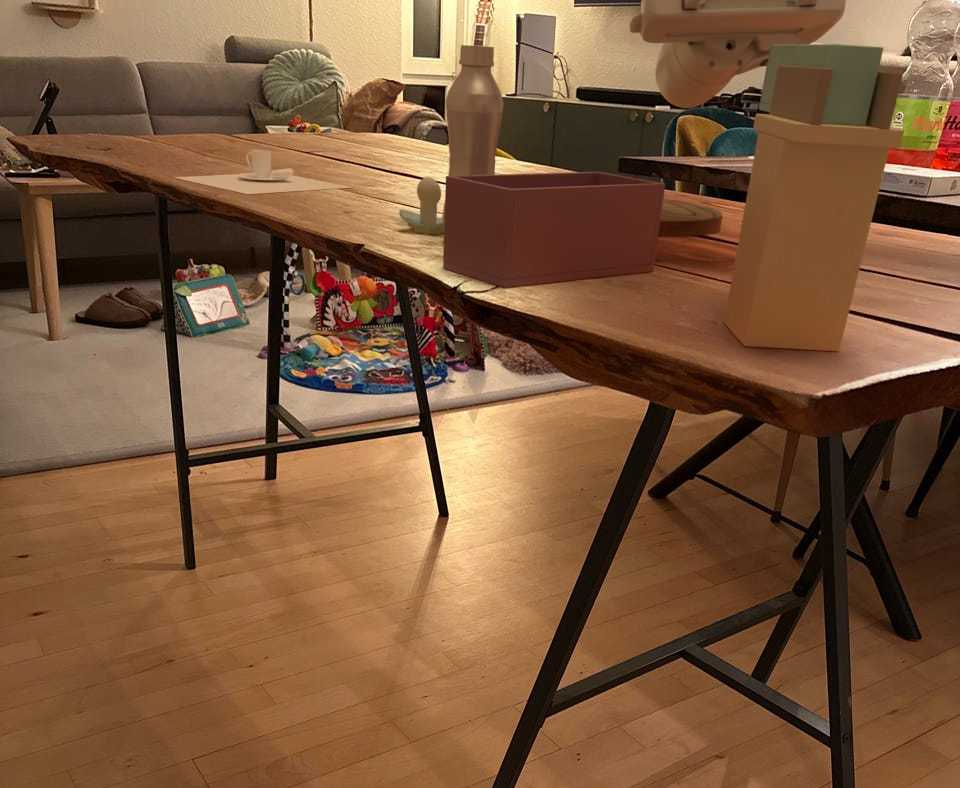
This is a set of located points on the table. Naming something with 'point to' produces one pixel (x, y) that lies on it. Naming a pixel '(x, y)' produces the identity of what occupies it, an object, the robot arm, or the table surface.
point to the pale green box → (847, 83)
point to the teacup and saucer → (262, 178)
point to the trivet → (688, 219)
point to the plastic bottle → (473, 115)
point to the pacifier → (425, 209)
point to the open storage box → (550, 226)
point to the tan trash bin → (807, 213)
